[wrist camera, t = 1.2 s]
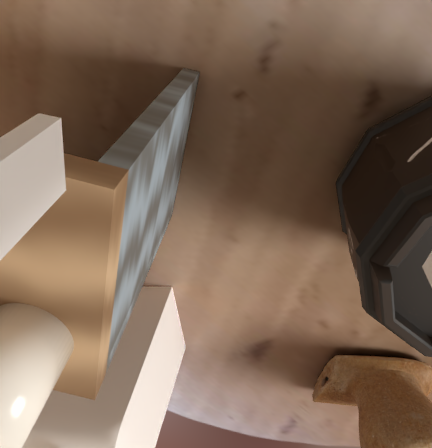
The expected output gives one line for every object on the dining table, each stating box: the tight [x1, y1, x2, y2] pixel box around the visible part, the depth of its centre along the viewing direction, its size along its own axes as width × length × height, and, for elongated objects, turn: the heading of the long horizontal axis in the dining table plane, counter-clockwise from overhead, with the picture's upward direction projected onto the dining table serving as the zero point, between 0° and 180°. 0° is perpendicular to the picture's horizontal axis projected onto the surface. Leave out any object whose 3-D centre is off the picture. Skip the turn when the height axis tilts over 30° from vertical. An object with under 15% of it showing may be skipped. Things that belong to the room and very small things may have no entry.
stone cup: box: [312, 355, 432, 448], centre depth 48 cm, size 15×12×15 cm
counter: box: [0, 68, 200, 400], centre depth 31 cm, size 16×16×23 cm
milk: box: [22, 286, 186, 448], centre depth 44 cm, size 12×12×26 cm
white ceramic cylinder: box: [0, 303, 74, 448], centre depth 20 cm, size 5×5×6 cm
